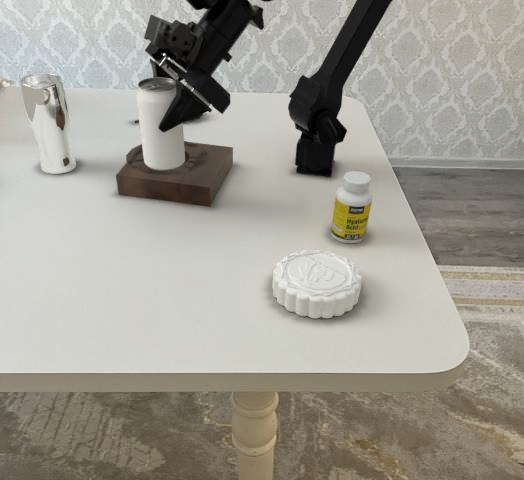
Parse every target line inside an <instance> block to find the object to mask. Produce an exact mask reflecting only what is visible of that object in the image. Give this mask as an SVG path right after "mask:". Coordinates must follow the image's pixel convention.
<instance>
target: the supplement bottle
mask: <svg viewBox="0 0 524 480" xmlns="http://www.w3.org/2000/svg"><path fill="white" fill-rule="evenodd" d="M371 181H372V178H371V176H370V175H369V174H367V173H366V172H363V171H359V170H358V171H357V170H352V171H347V172H345V173H344V175H343V178H342V185H341V186H340V187H338V189H337V190H336V193H335V200H334V204H333V205H334V206H333V213H332V219H331V227H330V234H331V237H333V239H335V240H336V241H338V242H340V243H343V244H344V243H345V244H357V243H360V242H361V241H363V240H364V239H365V236H366V233H367V227H368V223H369V217H370V213H371V212H370V211H371V207H372V202H373V192H371V189H370V187H371Z"/></svg>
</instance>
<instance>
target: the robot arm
mask: <svg viewBox="0 0 524 480" xmlns="http://www.w3.org/2000/svg"><path fill="white" fill-rule="evenodd" d="M185 1H186V2H187V4H188V5H189V6H190V7H191V8H192V9H193V10H195V11H201V10H203V9H204V10H205V12H204V13H203V15H202V16H201V18H200V19H199V20H198V22H195V21H192V20H191V21H189V22H187V24H186V23H185V22H181V21H180V20H178V19H174V20H173V21H172V22H170V21H168V20H165V19H163V18H161V17H158V16H156V15H154V14H150V16H149V18H148V23H147V26H146V29H145V33H144V36H143V38H144V40H146V41H147V40H148V41H150V42H149V43H148V45H147V46H146V48H145V49H144V52H146V54H148V55H149V56H150V57H151V58H149V63H150V66H151V71H152V78H154V77H163V78H170V79H173V80H175V81H176V96H175V98H174V99H173V101H172V103H171V105H170V106H169V108H168V110H167V112H166V114H165V115H164V117H163V119H162V121H161V122H160V124H159V127H158V128H159V130H161V131H162V132H166V131H168V130H170V129H172V128H174V127H176V126H178V125H180V124H181V123H183V124H184V123H186V122H185V121H187V120H189V119H191V118H194V117H196V116H198V115H201V114H203V115H204V114H205V113H207V112H208V113H212V111H213V109H215V110H216V111H217V112H218V113H220V114H221V115H224V113H225V112H226V111H227V109H228V108H229V107H230V106H231V93H230V92H229V91H227V89H226V88H224V87H223V86H222V85H221V84H220V82H219V81H217V80H216V79H215V78H214V77H213V75H214V73H215V71H216V70H217V69H218V68H219V66H220V65H221V63H222V62H223V61H225V62H226V63H230V61H231V60H232V58H233V55H231V54H230V53H229V52H230V51H231V50H232V49H233V47H234V45H236V43H237V42H238V40H239V39H240V37H241V36H242V34H243V33H244V32H245V31H246V29H247V28H248V27H249V25H250V26H253V27H254V28H257V30H260V31H262V30H264V29H265V21H264V8H263V7H261V6H260V5H256V4H254V5H253V4H252V3H251V1H249V0H185ZM260 1H262V2H266V3H268V2H273V1H274V0H260ZM393 1H394V0H356V1H355V3H354V4H353V7H352V8H351V10H350V12H349V14H348V15H347V17H346V19H345V21H344V23H343V25H342V26H341V29H340V30H339V32H338V34H337V36H336V37H335V39H334V41H333V43H332V45H331V46H330V49H329V50H328V52H327V53H326V56H325V58H324V59H323V61H322V63H321V65H320V66H319V69H318V70H317V71H316V72H314V74H312V75H311V76H309V77H308V76H306V75H304V74H302V75H301V76H300V77H299V78H298V80H297V83H296V86H295V88H294V90H293V91H292V92H291V93H290V94H289V95H288V97H289V98H290V100H289V102H288V105H287V110H288V114H289V117H290V120H291V121H293V123H294V127H295V129H296V130H297V131H299V132H301V134H300V137H299V138H298V139H297V143H296V145H295V146H296V148H295V160H294V165H295V166H296V169H295V173H296V174H301V175H309V176H317V177H325V178H331V177H332V175H333V171H334V168H335V164H336V160H335V154H336V149H337V148H336V147H337V144H341V143H343V142H344V140H345V139H346V138H345V137H346V136H347V132H348V129H347V128H346V127H345V126H344V125H343V124H342V123H341V121H340V120H339V119H338V116H339V113H340V111H341V109H342V105H343V93H344V92H343V91H344V86H345V84H346V82H347V81H348V79H349V77H350V75H351V73H352V72H353V70H354V68H355V67H356V65H357V63H358V61H359V59H360V58H361V56H362V54H363V52H364V51H365V49H366V47H367V45H368V44H369V42H370V41H371V38H372V37H373V35H374V33H375V32H376V30H377V28H378V25H379V24H380V22H381V21H382V19H383V17H384V15H385V14H386V12H387V10H388V9H389V7H390V5H391V4H392V2H393ZM183 80H184V82H185V84H184V83H183V82H182V81H183ZM210 106H211V107H210ZM212 108H213V109H212ZM187 122H188V121H187Z"/></svg>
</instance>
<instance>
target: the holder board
mask: <svg viewBox="0 0 524 480" xmlns="http://www.w3.org/2000/svg"><path fill="white" fill-rule="evenodd" d="M184 148H185V162H184V163H183V165H182V166H181V167H179V168H177V169H174V170H169V171H158V170H154V169H151V168H149V167H148V166H147V165H146V164H145V162H144V157H143V149H142V143H141V144H138V145H137V146H135V147H132V148H131V149H130V150H129V151H128V152H127V154H126V155H125V164H124V165H123V166H122V168H121V169H120V170H119V171H118V172H117V173H116V174H115V179H116V186H117V191H118V192H117V193H118V195H120V196H127V197H135V198H141V199H148V200H157V201H165V202H170V203H171V202H172V203H179V204H187V205H192V206H201V207H207V208H211V207H212V205H213V203H214V201H215V199H216V197H217V196H218V195H219V192H220V190H221V188H222V187H223V185H224V183H225V181H226V179H227V177H228V175H229V173H230V172H231V170H232V168H233V167H234V147H233V146H225V145H216V144H208V143H201V142H194V141H193V142H191V141H188V140H184Z"/></svg>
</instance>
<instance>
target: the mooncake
mask: <svg viewBox="0 0 524 480" xmlns="http://www.w3.org/2000/svg"><path fill="white" fill-rule="evenodd" d="M271 282H272V284H271V288H272V295H273V297H274V298H275V299H276V300H277V301H276V302H277V303H278V304H279V305H280V306H282V307H284V308H285V309H286V311H288V312H291V313H295V314H296V315H298V316H300V317H309V318H311V319H319V318H322V319H331V318H332V317H333V316H334V317H341V316H342V315H343V314H344V313H345V312H346V313H347V312H350V311H352V310H353V308H354V306H355V305H357V304H358V303H359V299H360V294H361V288H362V283H363V276H362V275H361V271H360V269H359V267H356V265H355V263H354V262H353V261H351V260H348V259H347V257H345V256H344V255H337V254H336V253H335V252H332V251H325V250H324V249H322V250H321V249H315V250H313V249H303V250H302V251H294V252H292V253H291V254H289V255H285V256H283V257H282V258H281V260H279V261H277V262H276V263H275V268H274V269H273V270H272V281H271Z"/></svg>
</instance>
